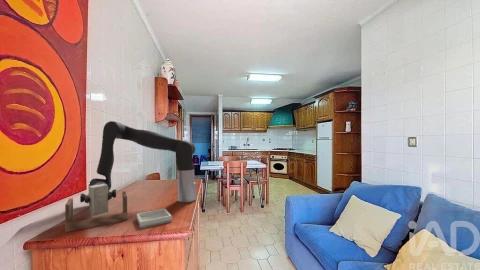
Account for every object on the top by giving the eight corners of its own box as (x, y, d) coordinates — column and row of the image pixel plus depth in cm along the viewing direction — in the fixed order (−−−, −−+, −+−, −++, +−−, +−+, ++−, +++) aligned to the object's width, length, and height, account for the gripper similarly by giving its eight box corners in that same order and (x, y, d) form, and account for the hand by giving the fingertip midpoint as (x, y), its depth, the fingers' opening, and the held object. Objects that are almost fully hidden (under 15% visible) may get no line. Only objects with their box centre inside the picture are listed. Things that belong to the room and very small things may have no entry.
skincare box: (104, 210, 98) (104, 183, 98) (108, 212, 95) (108, 184, 95) (88, 214, 93) (88, 185, 93) (92, 216, 90) (91, 187, 90)
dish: (165, 213, 101) (165, 208, 101) (171, 221, 90) (171, 215, 90) (136, 219, 94) (136, 213, 94) (140, 228, 84) (140, 222, 84)
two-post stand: (125, 212, 104) (125, 191, 104) (127, 220, 94) (127, 196, 94) (69, 222, 93) (69, 198, 93) (65, 232, 83) (64, 205, 83)
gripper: (81, 185, 102) (77, 193, 88) (116, 181, 110) (117, 188, 96) (81, 201, 102) (77, 211, 88) (116, 196, 110) (117, 205, 96)
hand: (98, 199), depth 92 cm, fingers closed on skincare box, 7 cm apart
